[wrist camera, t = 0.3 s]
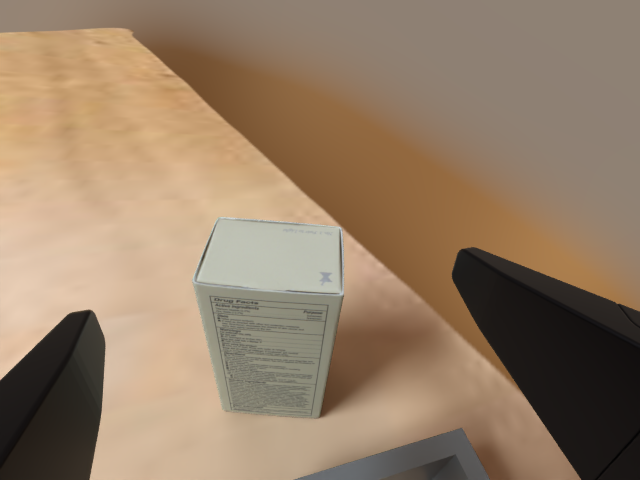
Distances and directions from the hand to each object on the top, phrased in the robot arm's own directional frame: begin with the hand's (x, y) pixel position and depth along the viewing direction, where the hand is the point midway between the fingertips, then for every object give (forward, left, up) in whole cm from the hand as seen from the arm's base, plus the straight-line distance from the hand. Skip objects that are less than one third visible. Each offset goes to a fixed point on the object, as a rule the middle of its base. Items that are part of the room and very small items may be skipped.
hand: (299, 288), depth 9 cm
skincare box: (+6, -1, -17) cm, 18 cm away
